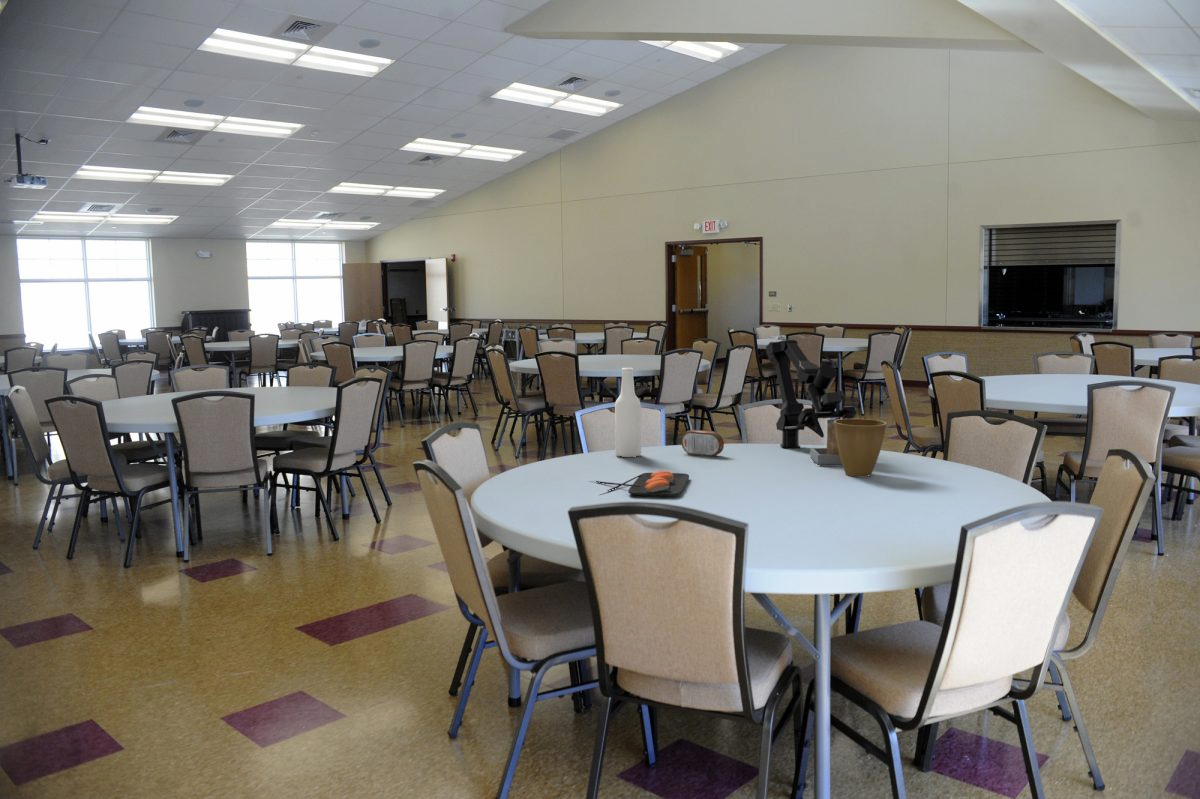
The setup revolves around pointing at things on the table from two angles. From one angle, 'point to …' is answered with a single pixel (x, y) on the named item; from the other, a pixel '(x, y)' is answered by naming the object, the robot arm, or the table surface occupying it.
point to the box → (824, 457)
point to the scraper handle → (831, 438)
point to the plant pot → (859, 444)
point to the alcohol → (627, 418)
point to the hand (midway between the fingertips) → (836, 436)
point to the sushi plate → (656, 484)
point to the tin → (702, 443)
